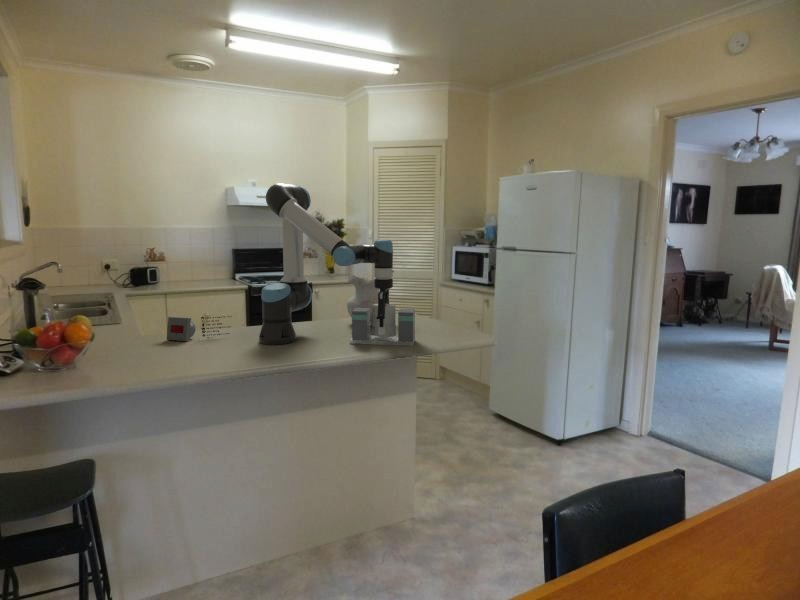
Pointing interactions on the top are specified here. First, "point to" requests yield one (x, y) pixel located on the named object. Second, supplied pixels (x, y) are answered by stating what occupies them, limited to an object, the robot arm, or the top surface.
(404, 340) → the block
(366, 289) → the ceramic pitcher
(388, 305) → the small box
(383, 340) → the rail plate
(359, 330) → the block
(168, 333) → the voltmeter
